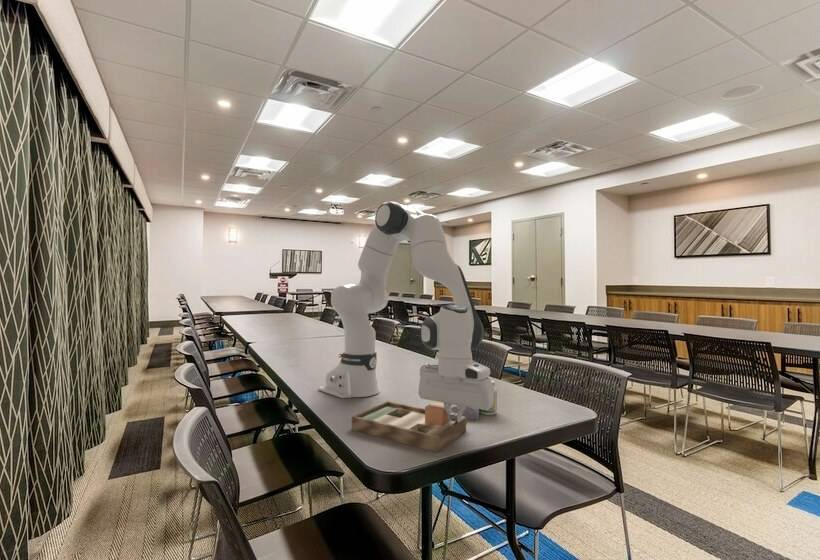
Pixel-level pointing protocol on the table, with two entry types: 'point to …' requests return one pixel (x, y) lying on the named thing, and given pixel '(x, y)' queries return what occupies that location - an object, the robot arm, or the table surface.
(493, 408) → the supplement bottle
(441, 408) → the block
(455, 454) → the table surface
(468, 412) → the stone block
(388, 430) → the board
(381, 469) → the table surface
